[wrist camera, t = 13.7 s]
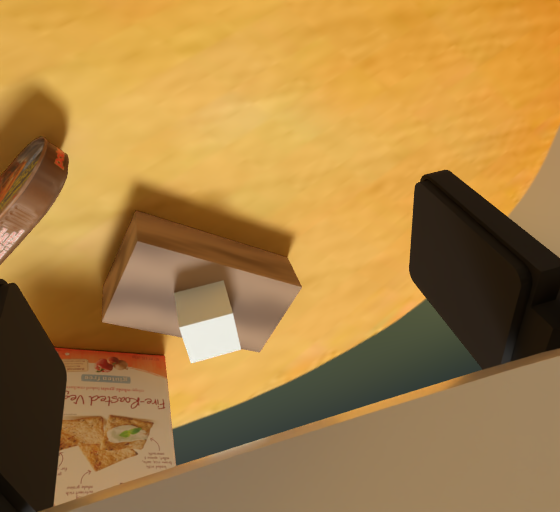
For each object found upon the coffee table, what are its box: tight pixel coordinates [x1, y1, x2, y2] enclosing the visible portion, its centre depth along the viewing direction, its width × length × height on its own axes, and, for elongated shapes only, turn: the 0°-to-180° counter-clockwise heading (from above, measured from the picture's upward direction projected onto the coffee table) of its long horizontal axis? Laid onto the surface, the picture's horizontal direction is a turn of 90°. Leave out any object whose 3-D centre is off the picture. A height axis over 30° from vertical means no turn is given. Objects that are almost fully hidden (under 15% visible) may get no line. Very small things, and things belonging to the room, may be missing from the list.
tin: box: [0, 137, 69, 265], centre depth 40 cm, size 15×3×8 cm, turn 131°
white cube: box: [174, 280, 241, 363], centre depth 47 cm, size 5×5×5 cm
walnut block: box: [102, 211, 302, 352], centre depth 52 cm, size 10×18×6 cm, turn 61°
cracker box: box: [53, 348, 176, 507], centre depth 50 cm, size 14×6×21 cm, turn 69°
